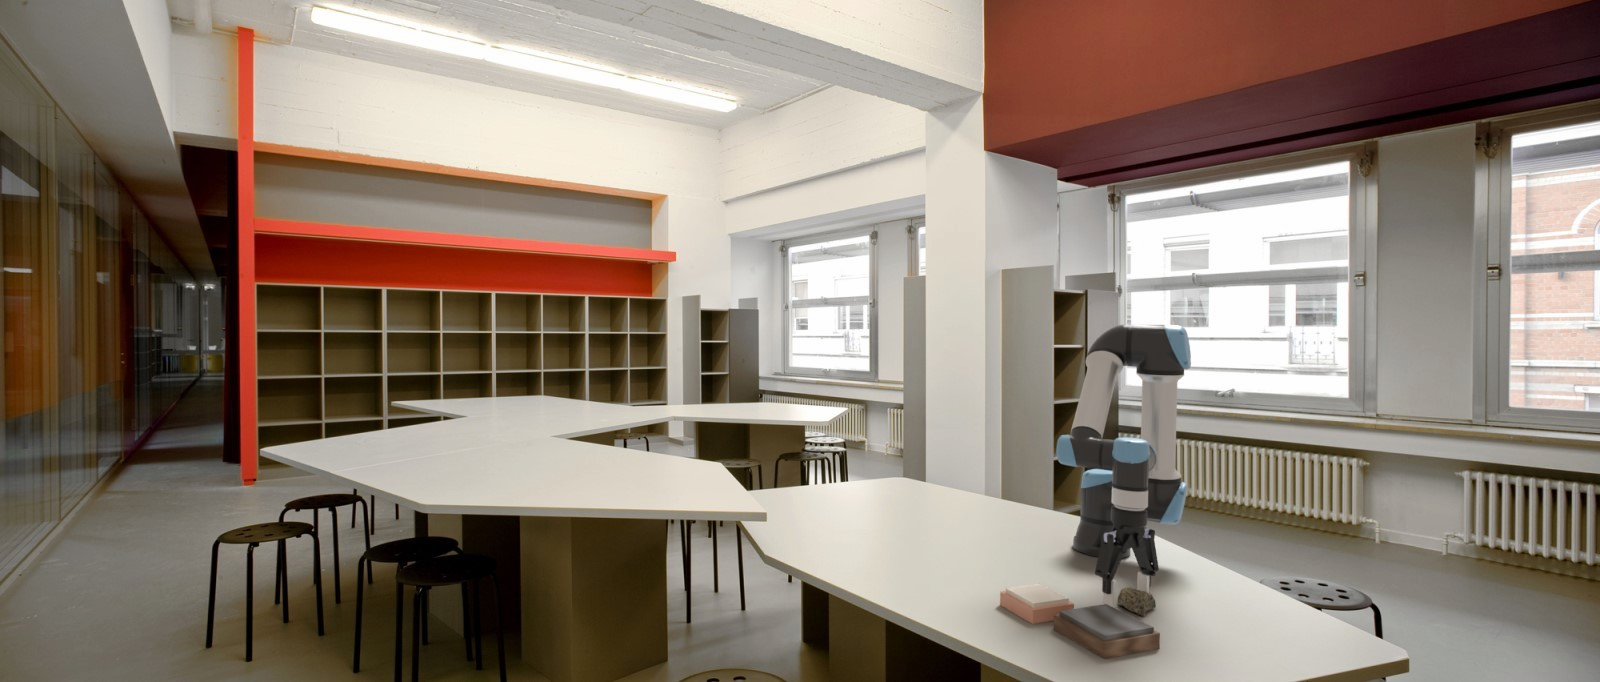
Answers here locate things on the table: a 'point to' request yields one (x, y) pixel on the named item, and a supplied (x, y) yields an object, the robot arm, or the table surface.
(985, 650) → the table surface
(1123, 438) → the robot arm
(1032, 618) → the terracotta plinth
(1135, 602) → the rock
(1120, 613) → the walnut plinth
